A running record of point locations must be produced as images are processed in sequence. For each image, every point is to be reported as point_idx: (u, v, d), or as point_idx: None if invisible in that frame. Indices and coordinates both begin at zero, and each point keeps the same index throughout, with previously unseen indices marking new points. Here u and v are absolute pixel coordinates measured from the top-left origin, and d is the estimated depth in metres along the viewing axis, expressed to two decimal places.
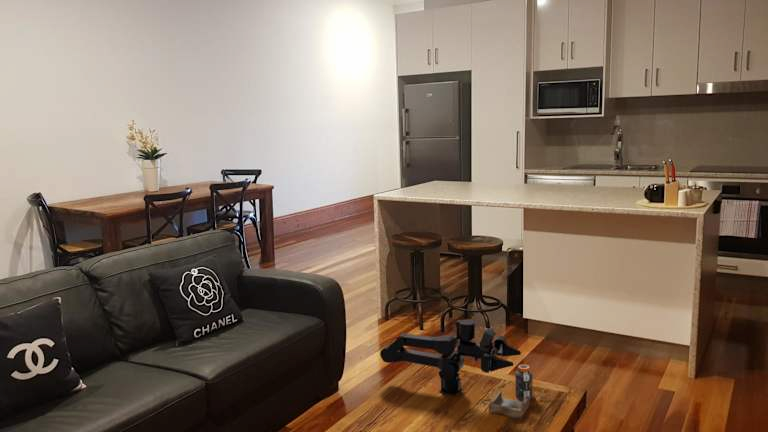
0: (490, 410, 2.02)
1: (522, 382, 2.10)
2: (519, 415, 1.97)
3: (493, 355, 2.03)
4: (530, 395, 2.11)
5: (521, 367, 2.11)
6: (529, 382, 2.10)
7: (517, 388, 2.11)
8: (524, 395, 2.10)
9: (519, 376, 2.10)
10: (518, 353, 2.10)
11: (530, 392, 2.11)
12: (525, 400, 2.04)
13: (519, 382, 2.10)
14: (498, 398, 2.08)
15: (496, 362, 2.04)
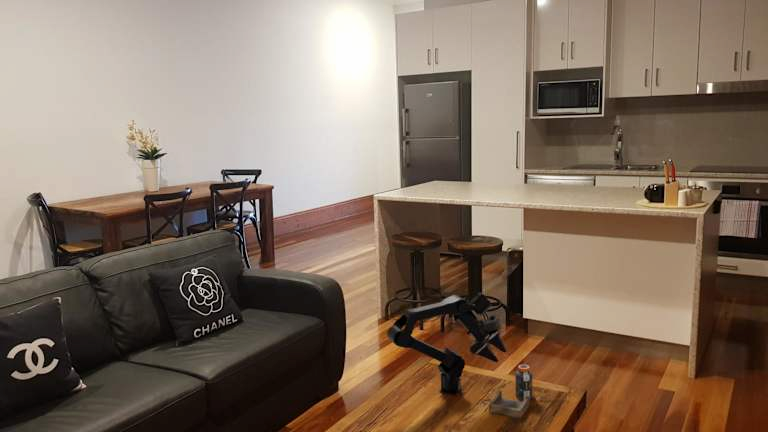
0: (490, 410, 2.02)
1: (522, 382, 2.10)
2: (519, 415, 1.97)
3: (488, 345, 2.10)
4: (530, 395, 2.11)
5: (521, 367, 2.11)
6: (529, 382, 2.10)
7: (517, 388, 2.11)
8: (524, 395, 2.10)
9: (519, 376, 2.10)
10: (503, 351, 2.19)
11: (530, 392, 2.11)
12: (525, 400, 2.04)
13: (519, 382, 2.10)
14: (498, 398, 2.08)
15: (485, 351, 2.11)
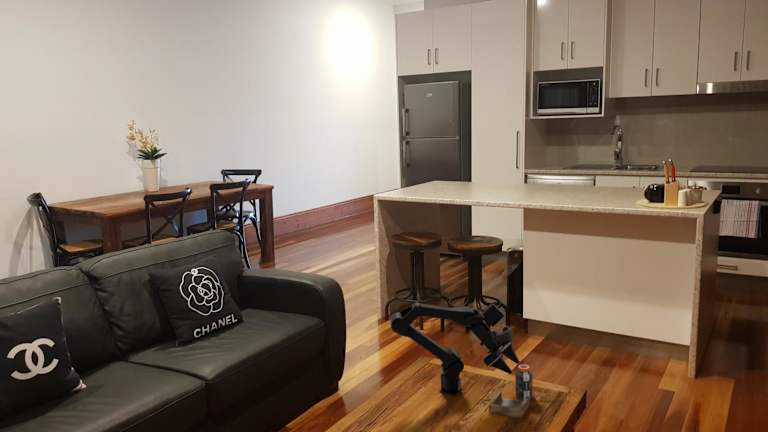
0: (490, 410, 2.02)
1: (522, 382, 2.10)
2: (519, 415, 1.97)
3: (502, 356, 2.08)
4: (530, 395, 2.11)
5: (521, 367, 2.11)
6: (529, 382, 2.10)
7: (517, 388, 2.11)
8: (524, 395, 2.10)
9: (519, 376, 2.10)
10: (516, 362, 2.18)
11: (530, 392, 2.11)
12: (525, 400, 2.04)
13: (519, 382, 2.10)
14: (498, 398, 2.08)
15: (499, 362, 2.10)
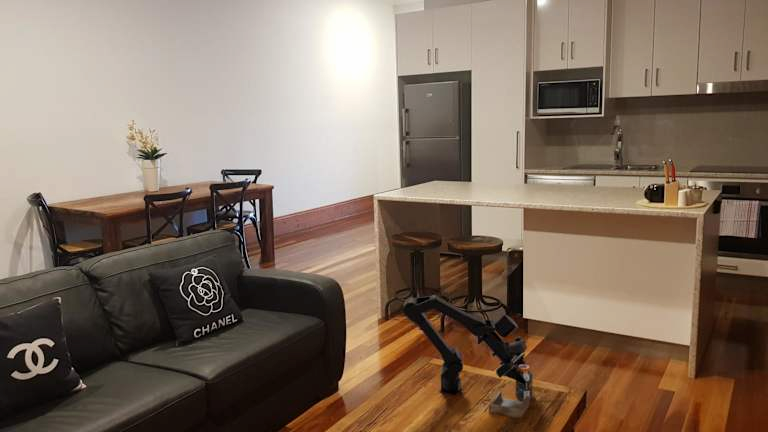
0: (490, 410, 2.02)
1: None
2: (519, 415, 1.97)
3: (516, 366, 2.08)
4: (530, 395, 2.11)
5: (521, 367, 2.11)
6: (529, 382, 2.10)
7: (517, 388, 2.11)
8: (524, 395, 2.10)
9: None
10: None
11: (530, 392, 2.11)
12: (525, 400, 2.04)
13: (519, 382, 2.10)
14: (498, 398, 2.08)
15: (513, 372, 2.09)
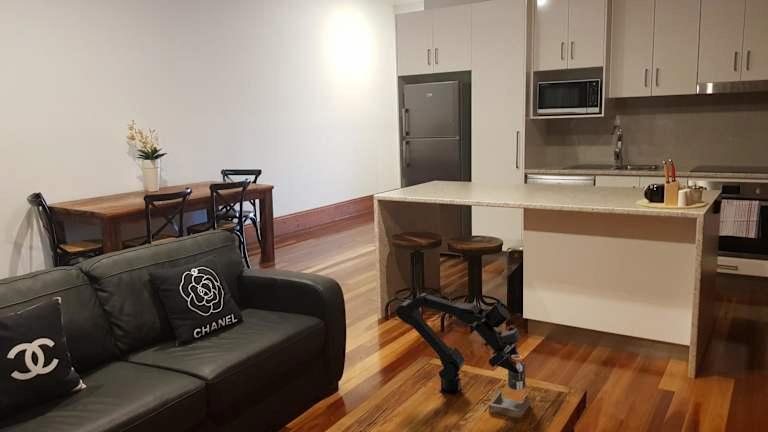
0: (490, 410, 2.02)
1: (515, 373, 2.05)
2: (519, 415, 1.97)
3: (509, 356, 2.03)
4: (523, 386, 2.06)
5: (514, 357, 2.06)
6: (522, 373, 2.05)
7: (510, 379, 2.07)
8: (517, 386, 2.06)
9: None
10: None
11: (523, 383, 2.06)
12: (525, 400, 2.04)
13: (512, 373, 2.06)
14: (498, 398, 2.08)
15: (506, 362, 2.04)
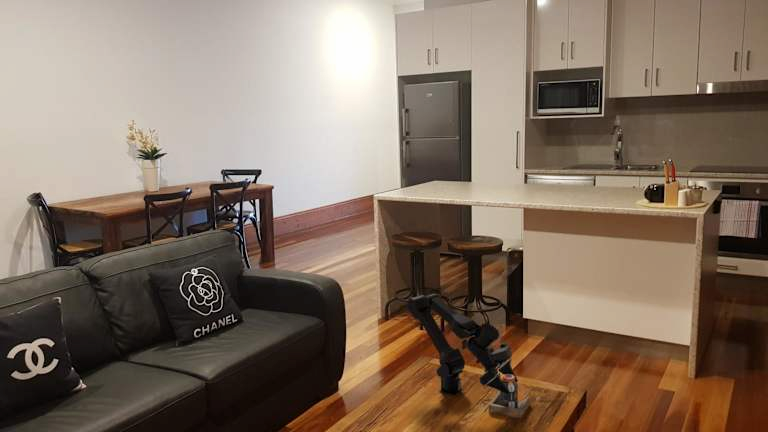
0: (490, 410, 2.02)
1: None
2: (519, 415, 1.97)
3: (499, 376, 1.98)
4: (515, 406, 2.02)
5: (506, 377, 2.03)
6: (514, 393, 2.01)
7: (502, 399, 2.03)
8: (509, 406, 2.02)
9: None
10: None
11: (515, 403, 2.02)
12: (525, 400, 2.04)
13: (504, 393, 2.02)
14: (498, 398, 2.08)
15: (496, 381, 1.99)
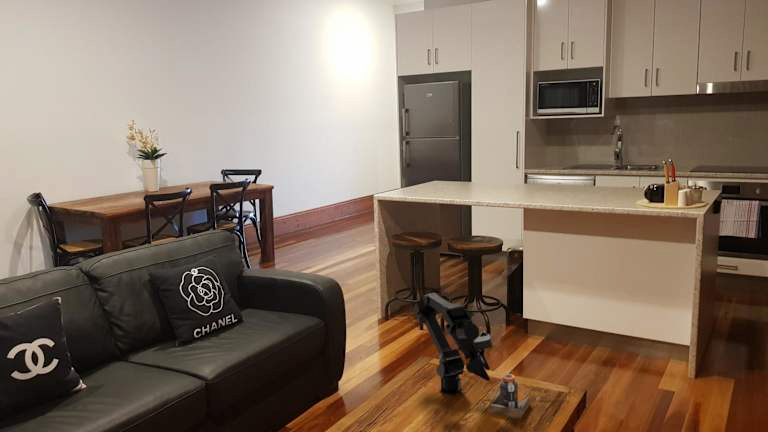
0: (490, 410, 2.02)
1: (507, 393, 2.01)
2: (519, 415, 1.97)
3: (484, 363, 2.03)
4: (515, 406, 2.02)
5: (506, 377, 2.03)
6: (514, 393, 2.01)
7: (502, 399, 2.03)
8: (509, 406, 2.02)
9: (504, 386, 2.02)
10: (487, 368, 2.15)
11: (515, 403, 2.02)
12: (525, 400, 2.04)
13: (504, 393, 2.02)
14: (498, 398, 2.08)
15: (479, 368, 2.05)
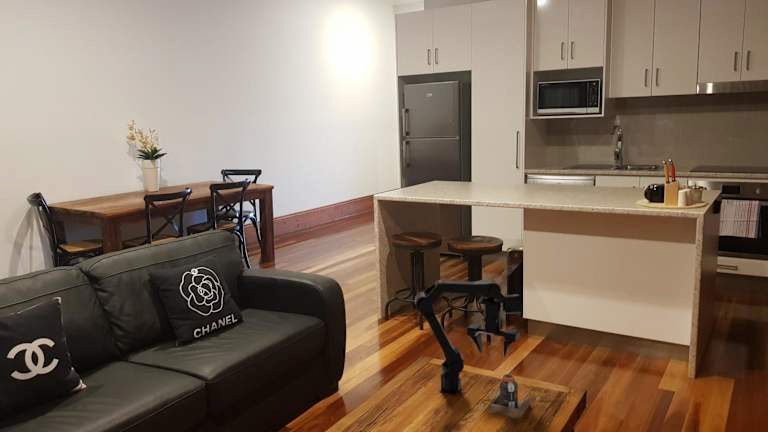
0: (490, 410, 2.02)
1: (507, 393, 2.01)
2: (519, 415, 1.97)
3: None
4: (515, 406, 2.02)
5: (506, 377, 2.03)
6: (514, 393, 2.01)
7: (502, 399, 2.03)
8: (509, 406, 2.02)
9: (504, 386, 2.02)
10: (480, 351, 2.20)
11: (515, 403, 2.02)
12: (525, 400, 2.04)
13: (504, 393, 2.02)
14: (498, 398, 2.08)
15: None
